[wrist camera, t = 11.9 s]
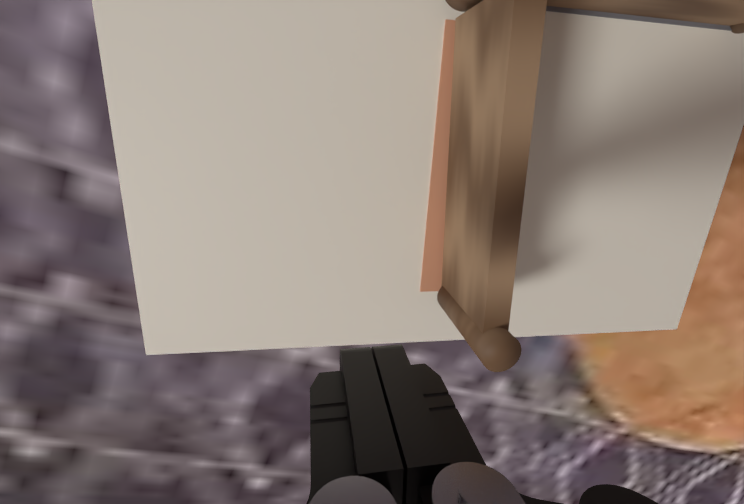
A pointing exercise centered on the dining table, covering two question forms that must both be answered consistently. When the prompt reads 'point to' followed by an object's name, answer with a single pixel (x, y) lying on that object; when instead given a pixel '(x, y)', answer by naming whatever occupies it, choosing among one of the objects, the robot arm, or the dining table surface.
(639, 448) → the dining table surface
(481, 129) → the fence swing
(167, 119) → the card
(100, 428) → the dining table surface
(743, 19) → the fence fixed
